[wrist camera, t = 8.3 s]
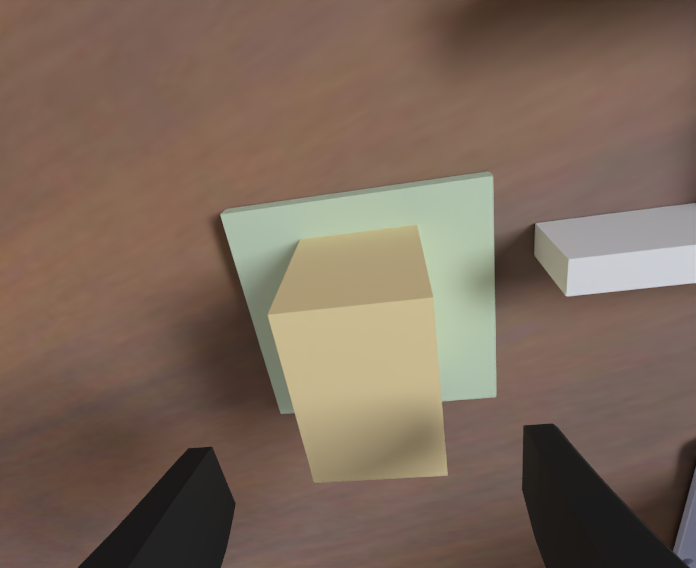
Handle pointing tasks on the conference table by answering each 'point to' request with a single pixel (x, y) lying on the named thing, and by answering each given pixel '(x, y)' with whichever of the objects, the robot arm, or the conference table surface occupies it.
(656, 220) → the frame
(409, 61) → the conference table surface
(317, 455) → the block
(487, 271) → the mat
